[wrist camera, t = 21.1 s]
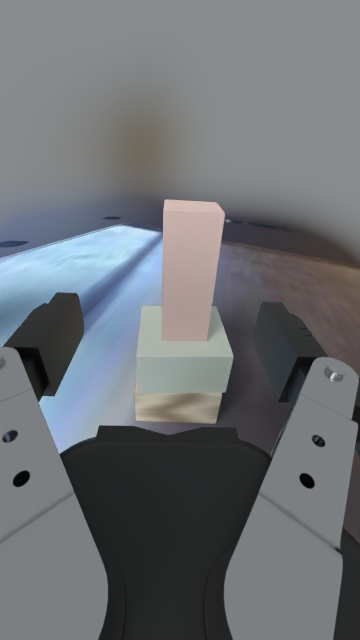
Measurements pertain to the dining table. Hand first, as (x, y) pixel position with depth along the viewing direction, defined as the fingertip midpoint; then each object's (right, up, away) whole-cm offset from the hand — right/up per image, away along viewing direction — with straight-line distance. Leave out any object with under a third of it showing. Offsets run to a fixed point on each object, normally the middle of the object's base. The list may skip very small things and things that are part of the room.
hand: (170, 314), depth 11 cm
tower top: (0, -5, +19) cm, 19 cm away
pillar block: (+1, -1, +16) cm, 16 cm away
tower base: (0, -9, +21) cm, 23 cm away
